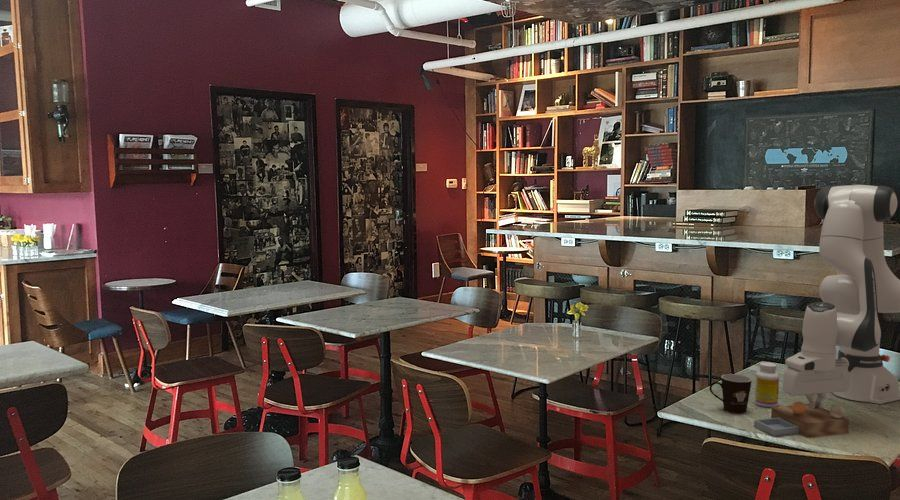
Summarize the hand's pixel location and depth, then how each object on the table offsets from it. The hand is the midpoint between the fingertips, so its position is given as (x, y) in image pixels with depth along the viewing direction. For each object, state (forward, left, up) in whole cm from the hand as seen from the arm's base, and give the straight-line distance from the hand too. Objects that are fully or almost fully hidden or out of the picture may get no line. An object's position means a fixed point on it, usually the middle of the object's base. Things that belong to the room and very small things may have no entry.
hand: (815, 408), depth 207 cm
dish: (+13, 0, -5) cm, 14 cm away
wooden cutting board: (+2, 0, -5) cm, 6 cm away
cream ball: (-2, +5, 0) cm, 6 cm away
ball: (+5, 0, 0) cm, 6 cm away
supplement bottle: (0, -20, -6) cm, 21 cm away
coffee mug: (+14, -19, -6) cm, 24 cm away
